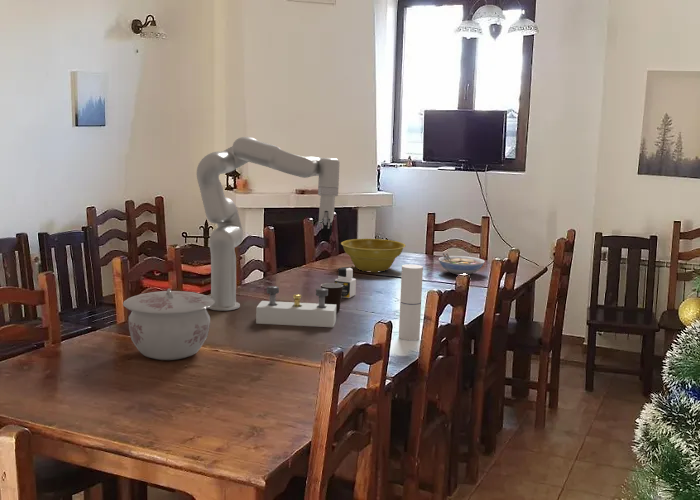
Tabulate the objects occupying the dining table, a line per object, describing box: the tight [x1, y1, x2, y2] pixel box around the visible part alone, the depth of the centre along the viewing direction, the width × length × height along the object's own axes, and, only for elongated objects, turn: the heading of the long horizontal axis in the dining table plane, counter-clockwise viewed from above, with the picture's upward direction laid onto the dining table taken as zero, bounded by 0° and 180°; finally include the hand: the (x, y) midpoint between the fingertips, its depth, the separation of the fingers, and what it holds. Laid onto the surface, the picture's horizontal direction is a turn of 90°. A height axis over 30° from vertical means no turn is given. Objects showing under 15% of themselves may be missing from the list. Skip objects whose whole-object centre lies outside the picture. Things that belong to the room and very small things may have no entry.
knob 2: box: [315, 287, 328, 308], centre depth 276 cm, size 4×4×8 cm
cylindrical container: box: [398, 263, 424, 341], centre depth 260 cm, size 7×7×25 cm
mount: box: [255, 300, 337, 328], centre depth 277 cm, size 28×10×6 cm, turn 86°
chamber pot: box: [122, 288, 215, 361], centre depth 234 cm, size 28×28×21 cm
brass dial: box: [292, 293, 302, 307], centre depth 276 cm, size 3×3×5 cm
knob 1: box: [266, 285, 280, 306], centre depth 277 cm, size 4×4×8 cm
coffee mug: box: [320, 282, 343, 313], centre depth 297 cm, size 12×9×10 cm
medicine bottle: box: [333, 266, 357, 299], centre depth 321 cm, size 7×7×12 cm
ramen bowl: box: [438, 253, 486, 275], centre depth 376 cm, size 25×23×8 cm
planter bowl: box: [340, 238, 406, 273], centre depth 379 cm, size 32×32×13 cm
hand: (326, 237), depth 284 cm, fingers open, 9 cm apart
